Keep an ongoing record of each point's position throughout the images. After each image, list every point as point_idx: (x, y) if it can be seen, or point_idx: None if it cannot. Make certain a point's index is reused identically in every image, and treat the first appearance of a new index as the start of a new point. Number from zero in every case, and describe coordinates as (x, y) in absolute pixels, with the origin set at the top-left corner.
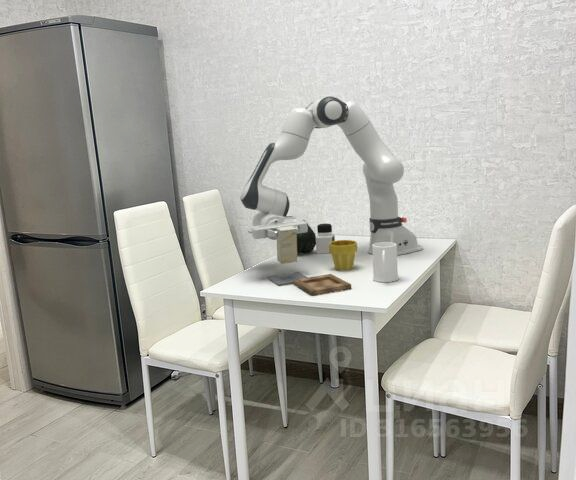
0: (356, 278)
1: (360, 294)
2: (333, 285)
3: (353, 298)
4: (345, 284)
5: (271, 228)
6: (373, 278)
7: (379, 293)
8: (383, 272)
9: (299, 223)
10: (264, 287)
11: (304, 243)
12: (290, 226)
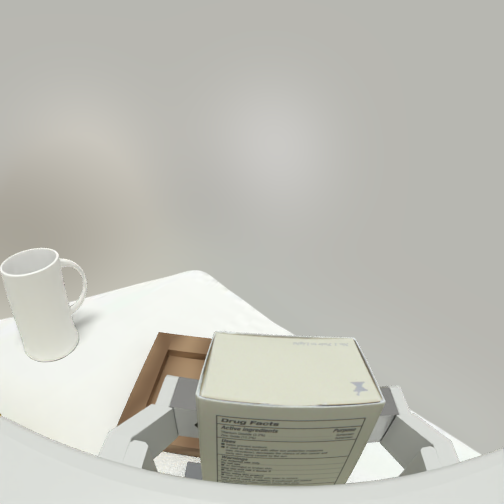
0: (76, 388)
1: (175, 313)
2: (198, 347)
3: (203, 307)
4: (170, 337)
5: (423, 472)
6: (69, 348)
7: (145, 301)
8: (83, 300)
9: (42, 445)
10: (373, 478)
11: None
12: (227, 387)
